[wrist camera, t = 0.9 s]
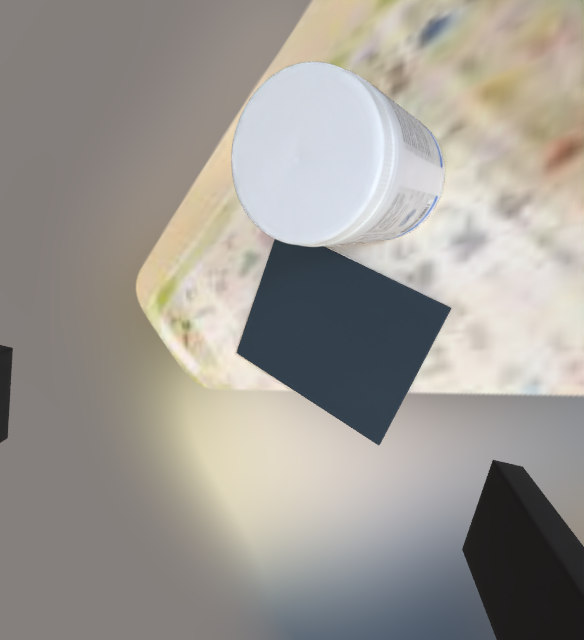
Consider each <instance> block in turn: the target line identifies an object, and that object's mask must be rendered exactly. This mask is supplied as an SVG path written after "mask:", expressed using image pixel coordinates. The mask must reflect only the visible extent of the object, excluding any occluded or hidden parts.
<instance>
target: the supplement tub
mask: <svg viewBox="0 0 584 640" xmlns="http://www.w3.org/2000/svg"><path fill="white" fill-rule="evenodd" d="M231 163H232V175H233V181H234V186H235V189H236V192H237V195H238V198H239V200H240V202H241V204H242V206H243V208H244V210H245V212H246V213H247V215H248V216H249V218H250V219H251V220H252V221H253V223H254V224H255V225H256V226H257V227H258V228H259V229H261V230H262V231H263V232H264V233H266V234H267V235H269V236H271V237H272V238H274V239H276V240H279V241H281V242H284V243H288V244H294V245H301V246H308V247H319V246H332V245H342V244H352V243H361V242H370V241H380V240H388V239H394V238H397V237H400V236H403V235H405V234H407V233H409V232H411V231H413V230H414V229H416V228H417V227H418V226H420V225H421V224H422V223H423V222H424V221H425V220H426V219H427V218H428V217H429V215H430V214H431V213H432V211H433V210H434V208H435V207H436V205H437V203H438V201H439V199H440V196H441V193H442V190H443V185H444V179H445V166H444V159H443V155H442V152H441V149H440V146H439V144H438V142H437V140H436V138H435V137H434V135H433V134H432V133H431V132H430V131H429V130H428V129H427V127H425V126H424V125H423V124H422V123H421V122H420V121H418V120H417V119H416V118H414V117H413V116H412V115H410V114H409V113H408V112H407V111H405V110H404V109H403V108H401V107H400V106H399V105H397V104H396V103H395V102H394V101H392V100H391V99H390V98H388V97H387V96H386V95H385V94H383V93H382V92H381V91H379V90H378V89H377V88H376V87H374V86H373V85H372V84H370V83H369V82H367V81H366V80H365V79H363V78H361V77H360V76H358V75H357V74H355V73H353V72H351V71H348V70H345V69H343V68H341V67H338V66H335V65H333V64H329V63H325V62H304V63H299V64H295V65H292V66H289V67H287V68H284V69H282V70H281V71H279V72H277V73H276V74H274V75H273V76H271V77H270V78H269V79H268V80H266V81H265V82H264V83H263V84H262V85H261V86H260V87H259V88H258V89H257V90H256V92H255V93H254V94H253V96H252V97H251V98H250V100H249V101H248V103H247V105H246V106H245V108H244V110H243V112H242V114H241V116H240V119H239V121H238V124H237V127H236V130H235V135H234V139H233V145H232V162H231Z"/></svg>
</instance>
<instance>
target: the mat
mask: <svg viewBox="0 0 584 640" xmlns="http://www.w3.org/2000/svg"><path fill="white" fill-rule="evenodd" d="M450 310H451V308H450V307H448V306H446V305H444V304H442V303H439V302H437V301H435V300H433V299H431V298H429V297H427V296H425V295H423V294H421V293H419V292H417V291H415V290H412V289H410V288H408V287H406V286H404V285H402V284H400V283H398V282H396V281H394V280H392V279H390V278H388V277H386V276H383V275H381V274H379V273H377V272H375V271H373V270H371V269H369V268H367V267H365V266H363V265H361V264H359V263H357V262H354V261H352V260H350V259H348V258H346V257H344V256H342V255H340V254H338V253H336V252H334V251H332V250H330V249H327V248H325V247H323V246H319V247H308V246H301V245H294V244H288V243H284V242H281V241H279V240H276V239H275V240H274V243H273V246H272V249H271V252H270V255H269V258H268V261H267V264H266V267H265V270H264V273H263V276H262V279H261V282H260V285H259V288H258V291H257V294H256V297H255V300H254V303H253V306H252V309H251V312H250V315H249V318H248V321H247V323H246V326H245V329H244V332H243V335H242V338H241V341H240V344H239V347H238V350H237V353H238V354H239V355H241V356H242V357H244V358H245V359H247V360H248V361H250V362H251V363H253V364H254V365H256V366H258V367H259V368H261V369H262V370H264V371H265V372H267V373H268V374H270V375H271V376H273V377H274V378H276V379H278V380H279V381H281V382H282V383H284V384H285V385H287V386H288V387H290V388H291V389H293V390H294V391H296V392H298V393H299V394H301V395H302V396H304V397H305V398H307V399H308V400H310V401H311V402H313V403H314V404H316V405H317V406H319V407H321V408H322V409H324V410H325V411H327V412H328V413H330V414H331V415H333V416H335V417H336V418H337V419H339V420H341V421H342V422H344V423H345V424H347V425H348V426H350V427H351V428H353V429H355V430H356V431H357V432H359V433H361V434H362V435H364V436H365V437H367V438H368V439H370V440H371V441H373V442H374V443H376V444H378V445H380V443H381V441H382V439H383V438H384V436H385V434H386V432H387V430H388V428H389V426H390V424H391V422H392V420H393V419H394V417H395V415H396V413H397V411H398V409H399V407H400V405H401V403H402V401H403V399H404V398H405V396H406V394H407V392H408V390H409V388H410V386H411V384H412V382H413V380H414V378H415V377H416V375H417V373H418V371H419V369H420V367H421V365H422V363H423V361H424V359H425V357H426V356H427V354H428V352H429V350H430V348H431V346H432V344H433V342H434V340H435V338H436V336H437V335H438V333H439V331H440V329H441V327H442V325H443V323H444V321H445V319H446V317H447V315H448V314H449V312H450Z"/></svg>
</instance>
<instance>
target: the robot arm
mask: <svg viewBox="0 0 584 640" xmlns="http://www.w3.org/2000/svg"><path fill="white" fill-rule="evenodd" d="M12 350H13V349H12V348H10V347H6V346H2V345H0V443H1V442H2V441H4V440H5V439H7V437H8V419H9V402H10V385H11V368H12ZM462 550H463V552H464V555H465V558H466V560H467V563H468V566H469V568H470V571H471V574H472V576H473V579H474V581H475V584H476V587H477V589H478V592H479V594H480V597H481V600H482V602H483V605H484V607H485V610H486V613H487V615H488V618H489V620H490V623H491V626H492V628H493V631H494V634H495V636H496V639H497V640H584V547H583V545H582V544H581V543H580V541H579V540H578V539H577V537H576V536H575V535H574V533H573V532H572V531H571V529H570V528H569V527H568V525H567V524H566V523H565V522H564V520H563V519H562V518H561V516H560V515H559V514H558V513H557V511H556V510H555V508H554V507H553V506H552V504H551V503H550V502H549V501H548V500H547V498H546V497H545V495H544V494H543V493H542V491H541V490H540V489H539V487H538V486H537V485H536V484H535V482H534V481H533V480H532V478H531V477H530V476H529V474H528V473H527V472H526V470H525V469H524V468H523V467H521V466H516V465H513V464H509V463H504V462H500V461H496V460H493V461H492V464H491V467H490V470H489V473H488V476H487V479H486V482H485V484H484V487H483V490H482V493H481V496H480V499H479V502H478V505H477V508H476V511H475V514H474V517H473V519H472V522H471V525H470V528H469V531H468V534H467V537H466V540H465V543H464V546H463V549H462Z"/></svg>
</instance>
